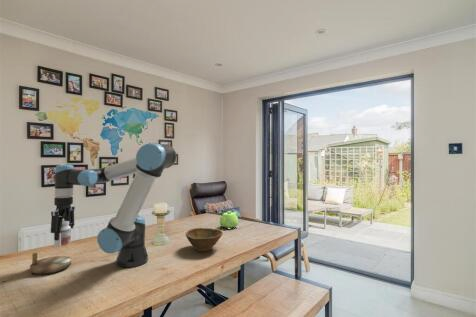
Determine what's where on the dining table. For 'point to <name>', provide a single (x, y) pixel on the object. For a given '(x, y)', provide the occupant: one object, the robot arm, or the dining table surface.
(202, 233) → the bowl
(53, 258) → the disc
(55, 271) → the susan base
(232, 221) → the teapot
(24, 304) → the dining table surface
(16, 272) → the dining table surface
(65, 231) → the pill bottle
